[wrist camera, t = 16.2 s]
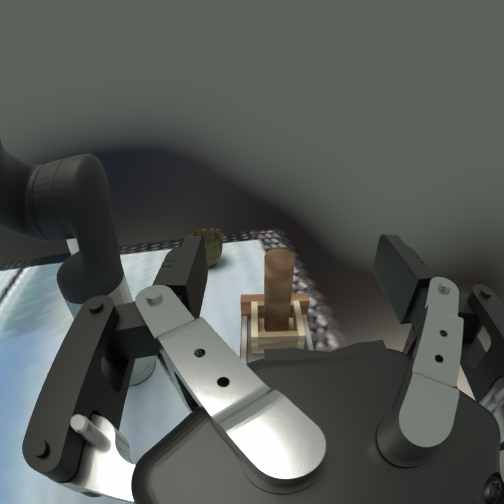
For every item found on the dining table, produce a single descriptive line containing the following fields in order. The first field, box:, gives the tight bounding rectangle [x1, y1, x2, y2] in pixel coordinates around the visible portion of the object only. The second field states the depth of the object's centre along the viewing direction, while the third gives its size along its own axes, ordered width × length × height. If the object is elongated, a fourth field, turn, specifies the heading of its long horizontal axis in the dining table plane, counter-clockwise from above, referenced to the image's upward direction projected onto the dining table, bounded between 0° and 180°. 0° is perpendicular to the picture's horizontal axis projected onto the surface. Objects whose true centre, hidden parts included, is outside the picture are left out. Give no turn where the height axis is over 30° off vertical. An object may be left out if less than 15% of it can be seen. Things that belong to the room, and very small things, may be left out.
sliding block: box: [251, 301, 306, 354], centre depth 44 cm, size 8×8×4 cm
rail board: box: [240, 293, 313, 364], centre depth 41 cm, size 20×12×6 cm, turn 0°
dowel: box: [264, 249, 295, 332], centre depth 41 cm, size 4×4×14 cm
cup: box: [190, 228, 223, 267], centre depth 64 cm, size 8×7×8 cm
